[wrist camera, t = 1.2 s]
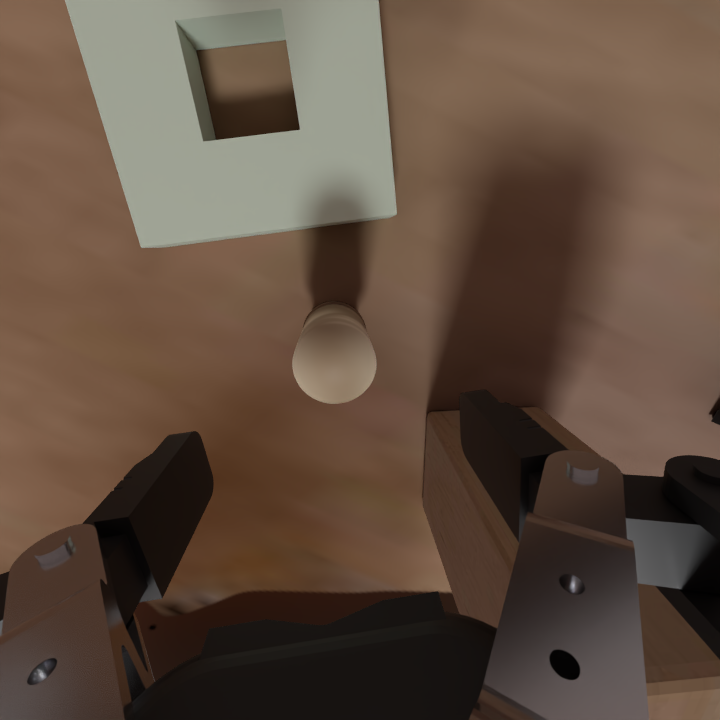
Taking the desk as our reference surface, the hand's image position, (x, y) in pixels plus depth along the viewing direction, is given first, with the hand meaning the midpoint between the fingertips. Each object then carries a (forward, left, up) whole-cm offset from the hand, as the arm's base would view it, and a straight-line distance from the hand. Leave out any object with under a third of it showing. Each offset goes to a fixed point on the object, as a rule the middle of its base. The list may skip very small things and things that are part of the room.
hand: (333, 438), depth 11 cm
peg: (0, 0, -17) cm, 17 cm away
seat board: (+3, -15, -17) cm, 23 cm away
